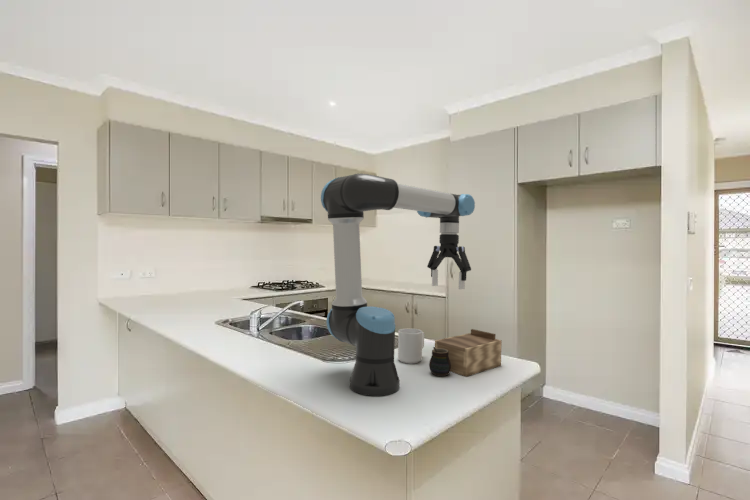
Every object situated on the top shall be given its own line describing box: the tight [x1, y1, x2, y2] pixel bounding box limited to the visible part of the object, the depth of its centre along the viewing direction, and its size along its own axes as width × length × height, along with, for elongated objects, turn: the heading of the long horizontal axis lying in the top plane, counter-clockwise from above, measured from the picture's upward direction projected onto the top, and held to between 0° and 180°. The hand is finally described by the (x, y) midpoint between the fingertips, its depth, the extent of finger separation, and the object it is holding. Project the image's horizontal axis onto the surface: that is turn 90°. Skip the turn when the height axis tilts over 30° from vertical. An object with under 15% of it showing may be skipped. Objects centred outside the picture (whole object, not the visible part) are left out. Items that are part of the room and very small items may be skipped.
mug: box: [397, 327, 426, 365], centre depth 148 cm, size 12×9×11 cm
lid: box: [437, 328, 499, 352], centre depth 142 cm, size 20×12×3 cm, turn 129°
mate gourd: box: [428, 346, 451, 377], centre depth 133 cm, size 7×8×10 cm
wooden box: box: [434, 332, 503, 378], centre depth 142 cm, size 20×14×9 cm
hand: (447, 287), depth 158 cm, fingers open, 13 cm apart
